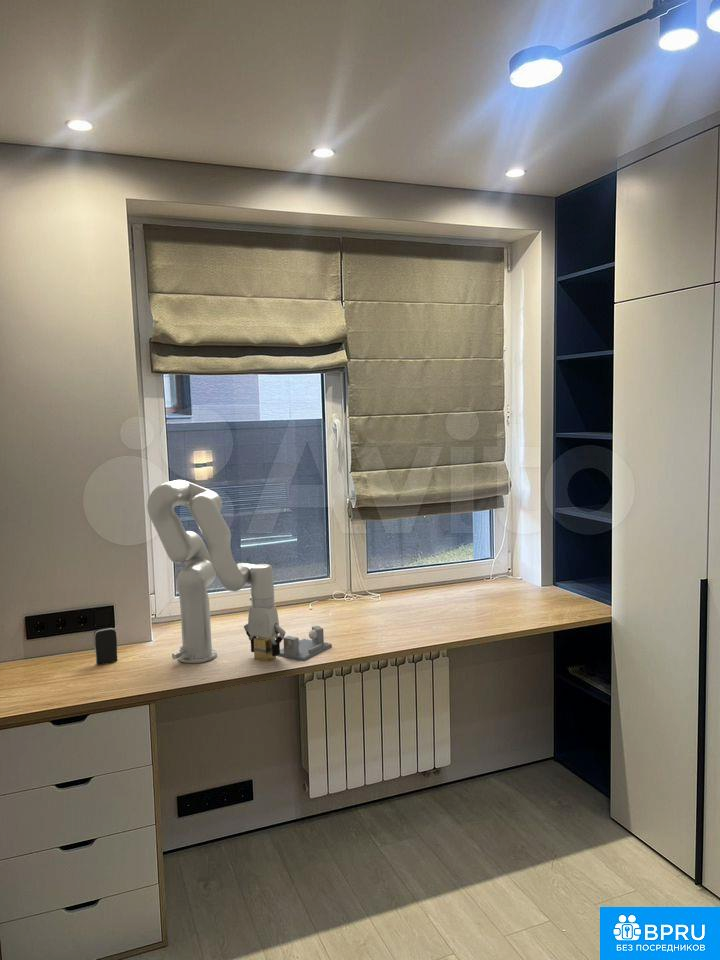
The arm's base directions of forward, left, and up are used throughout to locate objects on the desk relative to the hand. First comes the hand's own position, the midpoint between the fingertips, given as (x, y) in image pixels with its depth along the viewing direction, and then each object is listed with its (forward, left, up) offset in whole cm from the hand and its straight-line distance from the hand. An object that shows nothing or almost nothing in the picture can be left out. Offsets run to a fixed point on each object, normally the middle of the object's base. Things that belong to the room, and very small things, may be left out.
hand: (265, 653), depth 235 cm
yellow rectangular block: (0, 0, -2) cm, 2 cm away
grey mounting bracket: (+12, -7, -2) cm, 14 cm away
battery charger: (-28, +45, -2) cm, 53 cm away
